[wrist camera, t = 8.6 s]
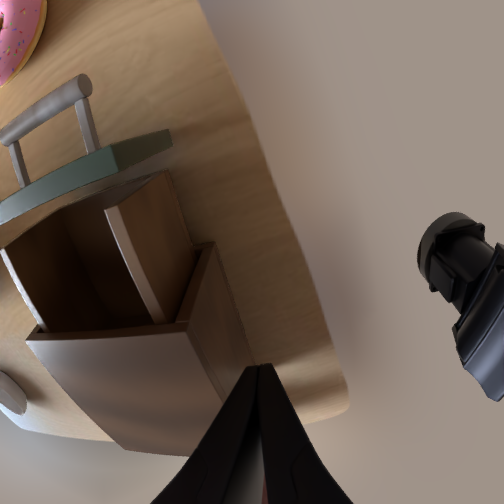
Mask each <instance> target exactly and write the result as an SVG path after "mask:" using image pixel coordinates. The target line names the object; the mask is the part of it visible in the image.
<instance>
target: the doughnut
mask: <svg viewBox="0 0 504 504" xmlns="http://www.w3.org/2000/svg"><path fill="white" fill-rule="evenodd" d="M46 13H47V0H0V28H1V27H2V30H1V33H0V88H1V87H3V86H4V85H6V84H7V83H8V82H10V81H11V80H12V79H13V78H14V77H15V76H16V75H17V74H18V73H19V71H20V70H21V69H22V68H23V66H24V65H25V64H26V62H27V61H28V59H29V58H30V56H31V54H32V53H33V51H34V49H35V47H36V45H37V43H38V41H39V38H40V36H41V33H42V30H43V27H44V23H45V19H46Z"/></svg>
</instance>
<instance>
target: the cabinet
mask: <svg viewBox="0 0 504 504" xmlns="http://www.w3.org/2000/svg"><path fill="white" fill-rule="evenodd" d="M193 248H194V251H195V254H196V257H197V260H198V263H197V265H196V268H195V270H194V273H193V276H192V278H191V281H190V283H189V286H188V289H187V291H186V294H185V297H184V299H183V302H182V305H181V307H180V310H179V313H178V315H177V318H176V321H175V323H171V324H162V325H152V326H142V327H132V328H120V329H108V330H95V331H79V332H60V333H44V331H43V330H42V328H41V326H40V325H39V323H38V324H37V325H36V327H35V328H34V329H33V331H32V332H31V334H30V335H29V336H28V337H27V339H26V340H25V341H26V343H27V344H28V346H29V347H30V348H31V350H32V351H33V352H34V354H35V355H36V356H37V358H38V359H39V360H40V362H41V363H42V364H43V366H44V367H45V368H46V369H47V371H48V372H49V373H50V374H51V376H52V377H53V378H54V379H55V380H56V382H57V383H58V384H59V385H60V386H61V387H62V389H63V390H64V391H65V392H66V393H67V394H68V395H69V396H70V398H71V399H72V400H73V401H74V402H75V403H76V404H77V405H78V406H79V407H80V408H81V409H82V410H83V411H84V412H85V413H86V414H87V415H88V416H89V417H90V418H91V419H92V420H93V421H94V422H95V423H96V424H97V425H98V426H99V427H100V428H101V429H102V430H103V431H104V432H105V433H106V434H107V435H109V436H110V437H111V438H112V439H113V440H114V441H115V442H116V443H118V444H119V445H120V446H121V447H122V448H123V449H125V450H130V451H136V452H144V453H152V454H162V455H174V456H188V457H190V456H191V454H192V453H193V451H194V450H195V448H197V445H198V444H199V442H200V441H201V439H202V438H203V436H204V434H205V433H206V431H207V430H208V428H209V426H210V425H211V423H212V422H213V420H214V419H215V417H216V415H217V414H218V412H219V410H220V409H221V407H222V406H223V404H224V402H225V401H226V399H227V397H228V396H229V394H230V392H231V391H232V389H233V387H234V386H235V384H236V382H237V381H238V379H239V377H240V376H241V374H242V372H243V371H244V369H245V367H247V366H250V365H256V364H255V362H254V359H253V356H252V353H251V350H250V347H249V344H248V341H247V338H246V335H245V332H244V330H243V327H242V324H241V321H240V318H239V315H238V312H237V309H236V306H235V302H234V299H233V296H232V293H231V290H230V287H229V284H228V281H227V278H226V275H225V272H224V268H223V265H222V262H221V259H220V256H219V253H218V249H217V246H216V243H215V242H211V243H206V244H201V245H196V246H193Z"/></svg>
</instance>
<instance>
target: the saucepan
mask: <svg viewBox="0 0 504 504" xmlns="http://www.w3.org/2000/svg"><path fill="white" fill-rule="evenodd" d="M26 399H27V398H26V395H25V393H24V392H23V390H22V389H21V388H20V387H19V386H18V385H17V384H16V383H15V382H14V381H13V380H12V379H11V378H10V377H9V376H7V375H6V374H5V373H3V372H1V371H0V403H2V404H3V405H4V406H5V407H7V408H8V409H9V410H11V411H12V412H14V413H16V414H18V415H21V416H24V413H25V412H26V409H27V401H26Z"/></svg>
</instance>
